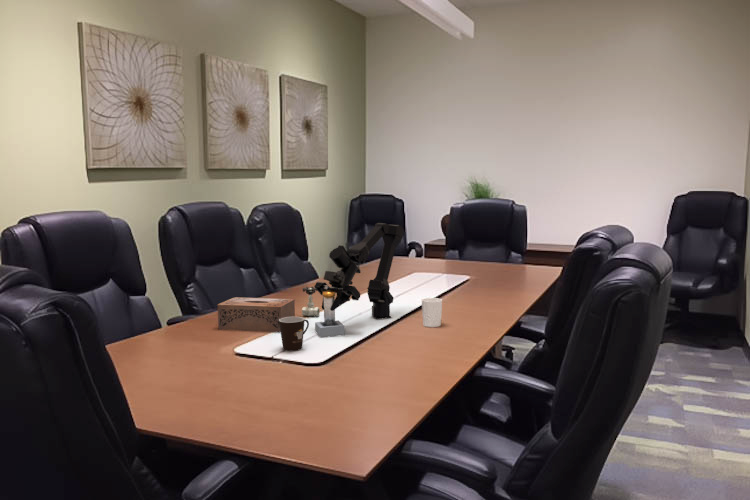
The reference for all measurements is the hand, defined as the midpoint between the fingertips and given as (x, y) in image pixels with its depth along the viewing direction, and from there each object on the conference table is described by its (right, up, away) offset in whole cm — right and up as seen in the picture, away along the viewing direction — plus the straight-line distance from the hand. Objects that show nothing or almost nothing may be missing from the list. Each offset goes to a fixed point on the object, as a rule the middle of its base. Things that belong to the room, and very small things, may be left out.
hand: (326, 309), depth 221 cm
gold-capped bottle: (+1, -6, +2) cm, 7 cm away
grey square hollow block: (+1, -9, +2) cm, 9 cm away
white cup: (+40, -8, +12) cm, 42 cm away
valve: (-9, -6, +30) cm, 32 cm away
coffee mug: (-9, -12, -17) cm, 22 cm away
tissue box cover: (-28, -8, +15) cm, 33 cm away
